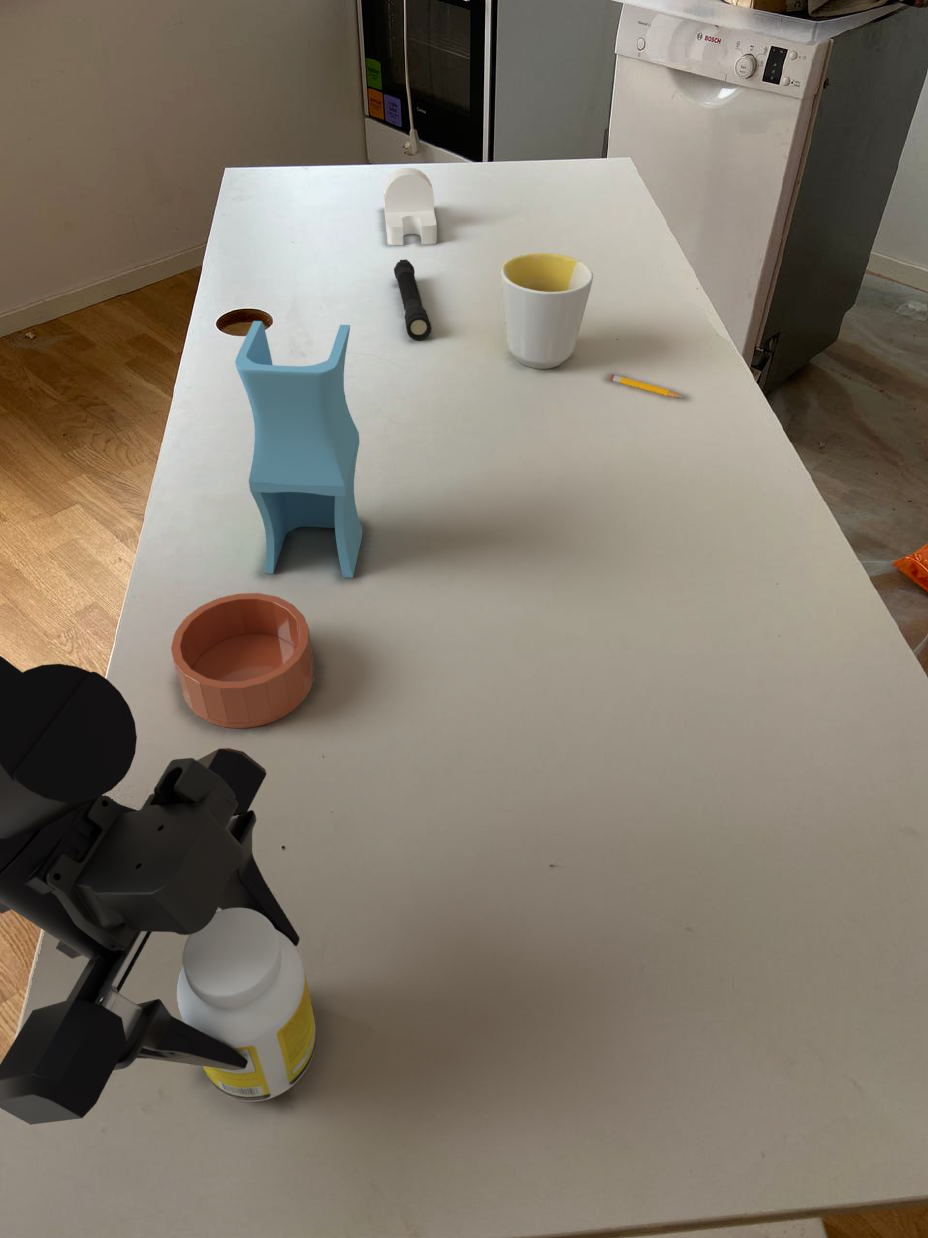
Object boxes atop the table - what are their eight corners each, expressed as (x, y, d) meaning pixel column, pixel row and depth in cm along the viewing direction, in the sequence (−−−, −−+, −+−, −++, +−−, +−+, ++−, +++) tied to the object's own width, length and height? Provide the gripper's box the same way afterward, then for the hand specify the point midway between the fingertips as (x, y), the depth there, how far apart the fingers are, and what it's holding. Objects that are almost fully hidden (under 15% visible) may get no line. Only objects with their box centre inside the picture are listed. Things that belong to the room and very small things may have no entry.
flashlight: (406, 341, 117) (406, 317, 115) (392, 281, 128) (392, 259, 126) (431, 339, 117) (431, 316, 115) (415, 280, 129) (415, 257, 127)
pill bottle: (314, 985, 58) (295, 882, 50) (321, 1096, 54) (301, 1002, 46) (203, 1002, 57) (166, 899, 49) (201, 1116, 53) (160, 1024, 45)
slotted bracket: (384, 209, 146) (382, 155, 141) (430, 208, 147) (429, 154, 141) (388, 245, 137) (385, 188, 131) (437, 244, 137) (436, 187, 132)
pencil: (612, 378, 111) (613, 373, 111) (683, 398, 108) (684, 392, 108) (609, 382, 111) (610, 376, 110) (681, 401, 108) (682, 396, 107)
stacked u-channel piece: (365, 523, 91) (351, 323, 77) (352, 578, 85) (335, 373, 72) (282, 518, 91) (253, 319, 78) (264, 573, 86) (229, 369, 72)
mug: (590, 378, 111) (600, 290, 104) (501, 380, 110) (505, 292, 103) (573, 322, 121) (581, 238, 113) (491, 323, 120) (494, 239, 113)
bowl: (194, 743, 72) (182, 703, 69) (173, 650, 79) (162, 610, 76) (328, 708, 74) (323, 667, 71) (297, 621, 81) (291, 581, 78)
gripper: (-38, 1000, 34) (292, 1194, 39) (203, 635, 47) (424, 821, 52) (-140, 1035, 40) (153, 1196, 46) (95, 708, 54) (301, 865, 59)
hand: (269, 1003), depth 51 cm, fingers closed on pill bottle, 6 cm apart
